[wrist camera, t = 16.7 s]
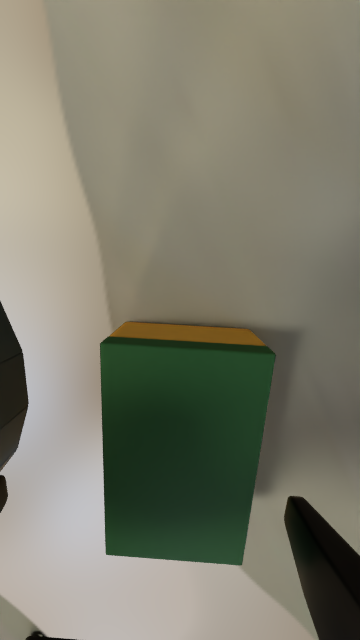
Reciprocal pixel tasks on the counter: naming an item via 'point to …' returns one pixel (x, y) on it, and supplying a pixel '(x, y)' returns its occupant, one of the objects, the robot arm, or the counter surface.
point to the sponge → (182, 439)
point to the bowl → (11, 390)
